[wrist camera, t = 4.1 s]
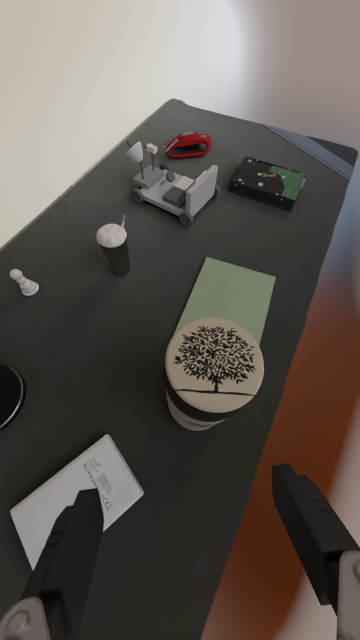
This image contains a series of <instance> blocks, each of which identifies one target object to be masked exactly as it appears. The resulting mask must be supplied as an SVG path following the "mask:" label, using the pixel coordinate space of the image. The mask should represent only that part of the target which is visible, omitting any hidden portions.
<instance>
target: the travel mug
mask: <svg viewBox="0 0 360 640" xmlns="http://www.w3.org/2000/svg"><path fill="white" fill-rule="evenodd" d="M263 374H264V362H263V357H262V353H261V351H260V348H259V346H258V344H257V342H256V341H255V339H254V338H253V337H252V336H251V334H250V333H249V332H248V331H247V330H245V329H244V328H243V327H241V326H240V325H238V324H237V323H235V322H233V321H230V320H227V319H224V318H219V317H204V318H199V319H196V320H193V321H191V322H189V323H187V324H185V325H184V326H182V327H181V328H180V329H179V330H178V331H177V332H176V333H175V334H174V336H173V337H172V339H171V340H170V342H169V345H168V347H167V351H166V357H165V364H164V381H165V388H166V394H167V400H168V406H169V410H170V413H171V415H172V416H173V418H174V419H175V421H176V422H177V423H178V424H180V425H181V426H183V427H184V428H186V429H189V430H194V431H201V430H206V429H208V428H210V427H212V426H214V425H216V424H218V423H220V422H222V421H223V420H225V419H227V418H229V417H231V416H233V415H235V414H236V413H238V412H239V411H240V410H241V409H242V408H243V407H244V406H245V405H246V404H247V403H248V402H249V401H250V400H251V399H252V398H253V397H254V395H255V394H256V393H257V391H258V389H259V387H260V385H261V382H262V379H263Z"/></svg>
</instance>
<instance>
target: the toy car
mask: <svg viewBox="0 0 360 640" xmlns="http://www.w3.org/2000/svg"><path fill="white" fill-rule="evenodd" d="M127 143H128V145H129V146H130V149H129V150H128V151H127V153H126V154H125V156H126V157H127V158H129V159H130V160H132V161H134V162H140V166H141V172H140V173H139V174H138V175H137V176H135V177H134V178H133V183H134V184H137V185H139V186H141V187H143V188H142V189H141V190H139V189H137V188H133V189H132V190H131V192H130V195H131V197H132V199H133V200H134V201H135V202H136V203H141V202H142V201H143V200H146V201H148V202H150V203H152V204H154V205H156V206H158V207H160V208H163V209H165V210H167V211H169V212H171V213H173V214H175V215H177V216H179V220H180V222H181V223H182V224H183V225H184V226H186V227H189V226H191V225H192V224H193V216H194V215H195V214H196V213H197V212H198V211H199V210H200V209H201V208H202V207H203V206H204V205H205V203H206V202H207V201H208V200H209V199H210V198H216V197H217V196H218V195H219V193H220V188H219V186H218V185H217V184H216V177H217V171H218V166H216V165H213V166H212V167H211V168H210V169H209V170H208V171H206V170H205V171H204V172H203V173H202V174H201V175H200V176H199V177H198V178H197V179H196V180H192V179H190V178H188V177H185V176H183V177H182V176H180V175H178V174H175V173H173V172H172V168H171V166H170V165H169V164H168V163H163V164H162V165H161V166H160V169H158V168H156V167H154V158H153V154H155V153H157V146H155V145H152V144H150V143H149V144H147V145H146V144H145V148H146V150H147V151H148V152H151V157H152V166H151V165H149V166H148V167H146V168H145V169H144V170H143V166H142V158H143V152H142V146H141V142H140V141H139V142H138V143H136V144H135V145H134V146H133V147H132V145H131V144H130V142H129V141H127Z"/></svg>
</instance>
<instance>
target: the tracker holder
mask: <svg viewBox="0 0 360 640" xmlns="http://www.w3.org/2000/svg"><path fill="white" fill-rule="evenodd" d="M199 143H201V144H206V149H205V150H204V151H198V152H189V153H180V154H173V153H170V152H169V150H173V149H174V148H175V146H176V147H183V146H189V145H194V144H199ZM210 146H211V138H210V136H209V135H207V134H198V133H197V132H185V133H182V134H180V135H178V136H177V137H176V138H174V139H173V140H172V141H169V142H167V144H166V145H165V147H164V151H165V152H166V153H167V154H168V155H169V156H171V157H191V156H200V155H203V154H204V153H206V152H207V151H208V150H209V148H210Z"/></svg>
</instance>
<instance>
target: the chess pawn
mask: <svg viewBox="0 0 360 640" xmlns="http://www.w3.org/2000/svg"><path fill="white" fill-rule="evenodd" d="M10 277H11V278H12V279H14V280H16V281H17V282H18V283H20V287H21V291H22V293H23V294H24V295H26V296H30V295H33V294H35V293H36V292H37V291H38V289H39V285H38V284H37V283H36V282H33V281H30V280H28V279H25V277H24V276H23V274H22V272H21V271H20V270H18V269H13V270H11V271H10Z"/></svg>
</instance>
